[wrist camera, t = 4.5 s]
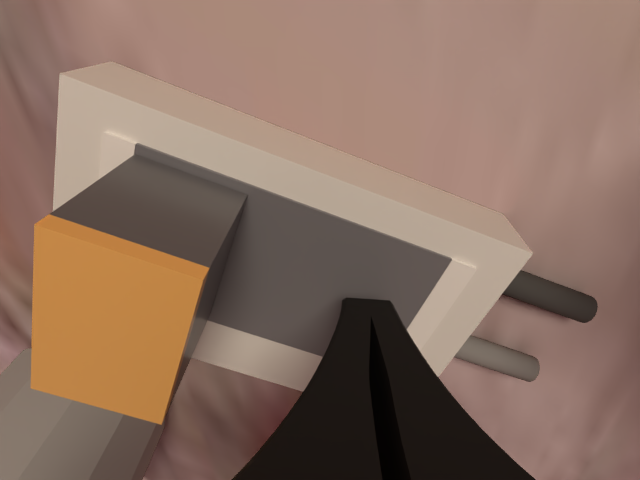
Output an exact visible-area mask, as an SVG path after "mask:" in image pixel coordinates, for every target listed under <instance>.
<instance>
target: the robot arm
mask: <svg viewBox="0 0 640 480" xmlns="http://www.w3.org/2000/svg"><path fill="white" fill-rule="evenodd" d="M232 480H535V479H534V478H533V477H532V476H531V475H530V474H528V473H527V472H526V471H525V470H524V469H523V468H522V467H520V466H519V465H518V464H517V463H516V462H515V461H514V460H513V459H512V458H511V457H510V456H509V455H508V454H507V453H506V452H505V451H504V450H503V449H501V448H500V447H499V446H498V445H497V444H496V443H495V442H494V441H493V440H492V439H491V438H490V437H489V436H488V435H487V434H486V433H485V432H484V431H483V430H482V429H481V428H480V427H479V425H478V424H477V423H476V422H475V421H474V420H473V419H472V418H471V417H470V416H469V415H468V414H467V412H466V411H465V410H464V409H463V408H462V407H461V405H460V404H459V403H458V402H457V401H456V400H455V398H454V397H453V396H452V395H451V393H450V392H449V391H448V390H447V388H446V387H445V386H444V385H443V383H442V382H441V381H440V379H439V378H438V377H437V375H436V374H435V372H434V371H433V370H432V368H431V367H430V365H429V364H428V363H427V361H426V360H425V358H424V357H423V355H422V354H421V352H420V351H419V349H418V347H417V346H416V344H415V343H414V341H413V340H412V338H411V336H410V335H409V333H408V331H407V330H406V328H405V326H404V324H403V322H402V321H401V319H400V317H399V315H398V313H397V311H396V309H395V307H394V305H393V303H392V302H391V301H390V300H377V299H362V298H347V297H346V298H345V299H343V300H342V306H341V313H340V316H339V320H338V323H337V326H336V329H335V331H334V334H333V336H332V338H331V341H330V343H329V346H328V348H327V350H326V352H325V354H324V356H323V358H322V360H321V362H320V364H319V366H318V367H317V369H316V371H315V373H314V375H313V377H312V378H311V380H310V382H309V383H308V385H307V387H306V388H305V390H304V391H303V393H302V394H301V396H300V398H299V399H298V401H297V402H296V403H295V405H294V406H293V408H292V409H291V410H290V412H289V413H288V415H287V416H286V417H285V419H284V420H283V422H282V423H281V424H280V425H279V427H278V428H277V429H276V431H275V432H274V433H273V434H272V435H271V437H270V438H269V439H268V440H267V441H266V442H265V444H264V445H263V446H262V447H261V448H260V450H259V451H258V452H257V453H256V454H255V456H254V457H253V458H252V459H251V460H250V461H249V462H248V463H247V464H246V466H245V467H244V468H243V469H242V470H241V471H240V472H239V473H238V474H237V475H236V476H235V477H234V478H233V479H232Z"/></svg>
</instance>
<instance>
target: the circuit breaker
mask: <svg viewBox="0 0 640 480" xmlns="http://www.w3.org/2000/svg"><path fill="white" fill-rule="evenodd" d="M134 154H136V155H139V156H142V157H145V158H147V159H150V160H153V161H156V162H158V163H161V164H164V165H167V166H169V167H172V168H175V169H178V170H180V171H183V172H186V173H189V174H191V175H194V176H197V177H200V178H202V179H205V180H208V181H211V182H214V183H216V184H219V185H222V186H225V187H227V188H230V189H233V190H236V191H238V192H241V193H244V194H247V198H246V201H245V205H244V208H243V211H242V214H241V217H240V220H239V224H238V227H237V230H236V233H235V236H234V239H233V243H232V246H231V249H230V252H229V255H228V259H227V262H226V265H225V268H224V271H223V274H222V278H221V281H220V284H219V287H218V290H217V293H216V297H215V300H214V303H213V306H212V309H211V313H210V316H209V318H208V320H207V323H206V325H205V327H204V329H203V332H202V334H201V336H200V339H199V341H198V343H197V345H196V348H195V350H194V352H193V355H192V357H191V358H193V359H196V360H200V361H203V362H206V363H209V364H213V365H216V366H219V367H223V368H226V369H229V370H233V371H236V372H239V373H243V374H246V375H249V376H252V377H256V378H259V379H262V380H266V381H269V382H272V383H276V384H279V385H282V386H286V387H289V388H292V389H296V390H299V391H302V392H303V391H304V390H305V388H306V387H307V385H308V383H309V382H310V380H311V378H312V377H313V375H314V373H315V371H316V369H317V367H318V366H319V364H320V362H321V360H322V358H323V356H324V354H325V352H326V350H327V348H328V346H329V343H330V341H331V338H332V336H333V334H334V331H335V329H336V326H337V323H338V320H339V316H340V313H341V306H342V300H343V299H345V298H346V297H347V298H362V299H377V300H390V301H391V302H392V303H393V305H394V307H395V309H396V311H397V313H398V315H399V317H400V319H401V321H402V322H403V324H404V326H405V328H406V330H407V331H408V333H409V335H410V336H411V338H412V340H413V341H414V343H415V344H416V346H417V347H418V349H419V351H420V352H421V354H422V355H423V357H424V358H425V360H426V361H427V363H428V364H429V365H430V367H431V368H432V370H433V371H434V372H435V374H436V375H437V377H439V376H440V374H441V373H442V372H443V370H444V369H445V368H446V366H447V365H448V364H449V362H450V361H451V360H452V359H453V357H454V356H455V355H456V353H457V352H458V351H459V349H460V348H461V347H462V346H463V344H464V343H465V342H466V340H467V339H468V338H469V336H470V335H471V334H472V332H473V331H474V330H475V329H476V327H477V326H478V325H479V323H480V322H481V321H482V319H483V318H484V317H485V316H486V314H487V313H488V312H489V310H490V309H491V308H492V306H493V305H494V304H495V302H496V301H497V300H498V299H499V297H500V296H501V295H502V293H503V292H504V291H505V289H506V288H507V287H508V286H509V284H510V283H511V282H512V280H513V279H514V278H515V276H516V275H517V274H518V272H519V271H520V270H521V269H522V267H523V266H524V265H525V263H526V262H527V261H528V259H529V258H530V257H531V256H532V254H533V252H532V251H531V250H530V249H529V247H528V246H527V245H526V243H525V242H524V241H523V239H522V238H521V237H520V235H519V234H518V233H517V232H516V230H515V229H514V228H513V226H512V225H511V224H510V222H509V221H508V220H507V218H506V217H505V216H504V215H503V214H502V213H499V212H497V211H494V210H491V209H489V208H486V207H484V206H481V205H479V204H476V203H473V202H471V201H468V200H466V199H463V198H461V197H458V196H456V195H453V194H450V193H448V192H445V191H443V190H440V189H438V188H435V187H432V186H430V185H427V184H425V183H422V182H420V181H417V180H415V179H412V178H409V177H407V176H404V175H402V174H399V173H397V172H394V171H392V170H389V169H386V168H384V167H381V166H379V165H376V164H374V163H371V162H368V161H366V160H363V159H361V158H358V157H356V156H353V155H351V154H348V153H345V152H343V151H340V150H338V149H335V148H333V147H330V146H327V145H325V144H322V143H320V142H317V141H315V140H312V139H310V138H307V137H304V136H302V135H299V134H297V133H294V132H292V131H289V130H286V129H284V128H281V127H279V126H276V125H274V124H271V123H269V122H266V121H263V120H261V119H258V118H256V117H253V116H251V115H248V114H245V113H243V112H240V111H238V110H235V109H233V108H230V107H228V106H225V105H222V104H220V103H217V102H215V101H212V100H210V99H207V98H204V97H202V96H199V95H197V94H194V93H192V92H189V91H187V90H184V89H181V88H179V87H176V86H174V85H171V84H169V83H166V82H163V81H161V80H158V79H156V78H153V77H151V76H148V75H146V74H143V73H140V72H138V71H135V70H133V69H130V68H128V67H125V66H122V65H120V64H117V63H115V62H112V61H111V62H107V63H103V64H98V65H94V66H90V67H85V68H81V69H77V70H72V71H68V72H64V73H60V77H59V98H58V118H57V138H56V158H55V178H54V199H53V211H54V210H56V209H57V208H59V207H60V206H62V205H63V204H64V203H66V202H67V201H69V200H70V199H72V198H73V197H74V196H76V195H77V194H79V193H80V192H82V191H83V190H84V189H86V188H87V187H89V186H90V185H92V184H93V183H94V182H96V181H97V180H99V179H100V178H102V177H103V176H104V175H106V174H107V173H109V172H110V171H112V170H113V169H114V168H116V167H117V166H119V165H120V164H122V163H123V162H124V161H126V160H127V159H129V158H130V157H132V156H133V155H134Z"/></svg>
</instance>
